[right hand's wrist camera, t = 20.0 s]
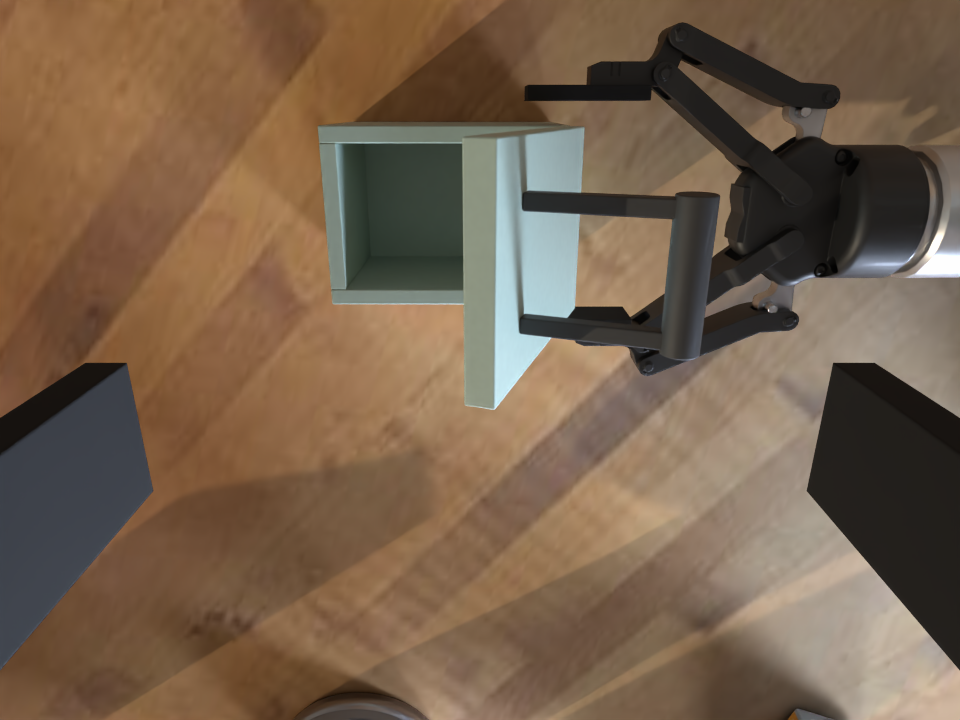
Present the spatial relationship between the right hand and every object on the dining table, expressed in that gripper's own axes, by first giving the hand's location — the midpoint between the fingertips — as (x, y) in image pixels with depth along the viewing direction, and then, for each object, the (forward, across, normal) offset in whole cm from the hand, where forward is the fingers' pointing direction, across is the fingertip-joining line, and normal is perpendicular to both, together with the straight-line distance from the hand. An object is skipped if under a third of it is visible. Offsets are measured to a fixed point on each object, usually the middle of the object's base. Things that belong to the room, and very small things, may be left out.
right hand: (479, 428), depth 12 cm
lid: (+18, -2, 0) cm, 18 cm away
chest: (+34, +2, 0) cm, 34 cm away
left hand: (+28, -2, 0) cm, 28 cm away
